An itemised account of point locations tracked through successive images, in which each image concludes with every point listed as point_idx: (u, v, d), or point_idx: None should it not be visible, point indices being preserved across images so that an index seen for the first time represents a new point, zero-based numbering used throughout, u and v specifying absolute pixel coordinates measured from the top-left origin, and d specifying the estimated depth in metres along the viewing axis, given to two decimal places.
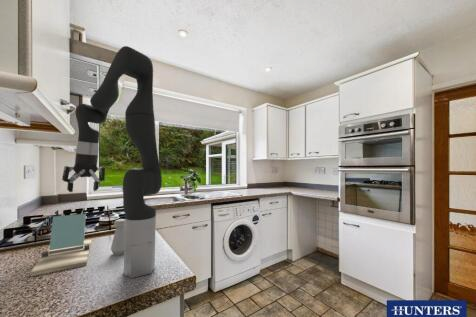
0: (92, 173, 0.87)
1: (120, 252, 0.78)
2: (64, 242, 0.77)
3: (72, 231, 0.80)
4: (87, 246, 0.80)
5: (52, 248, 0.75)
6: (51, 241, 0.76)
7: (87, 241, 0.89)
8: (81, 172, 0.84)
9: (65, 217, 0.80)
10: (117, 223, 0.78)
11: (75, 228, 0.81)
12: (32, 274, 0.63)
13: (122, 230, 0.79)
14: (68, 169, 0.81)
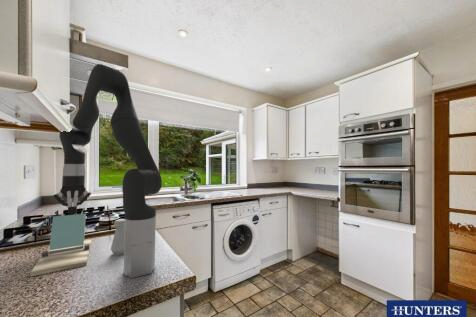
0: (75, 195, 0.87)
1: (120, 252, 0.78)
2: (64, 242, 0.77)
3: (72, 231, 0.80)
4: (87, 246, 0.80)
5: (52, 248, 0.75)
6: (51, 241, 0.76)
7: (87, 241, 0.89)
8: (68, 194, 0.85)
9: (65, 217, 0.80)
10: (117, 223, 0.78)
11: (75, 228, 0.81)
12: (32, 274, 0.63)
13: (122, 230, 0.79)
14: (56, 196, 0.84)
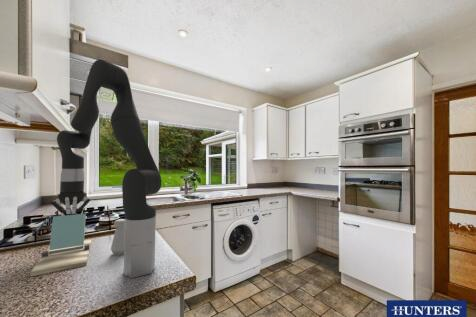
0: (74, 201, 0.82)
1: (120, 252, 0.78)
2: (64, 242, 0.77)
3: (72, 231, 0.80)
4: (87, 246, 0.80)
5: (52, 248, 0.75)
6: (51, 241, 0.76)
7: (87, 241, 0.89)
8: (67, 201, 0.81)
9: (65, 217, 0.80)
10: (117, 223, 0.78)
11: (75, 228, 0.80)
12: (32, 274, 0.63)
13: (122, 230, 0.79)
14: (54, 203, 0.79)
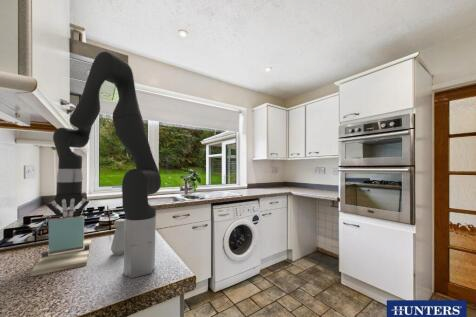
0: (72, 203, 0.77)
1: (120, 252, 0.78)
2: (63, 244, 0.76)
3: (71, 234, 0.77)
4: (87, 246, 0.80)
5: (51, 250, 0.74)
6: (50, 243, 0.74)
7: (87, 241, 0.89)
8: (64, 203, 0.76)
9: (62, 221, 0.75)
10: (117, 223, 0.78)
11: (74, 231, 0.77)
12: (32, 274, 0.63)
13: (122, 230, 0.79)
14: (50, 205, 0.74)
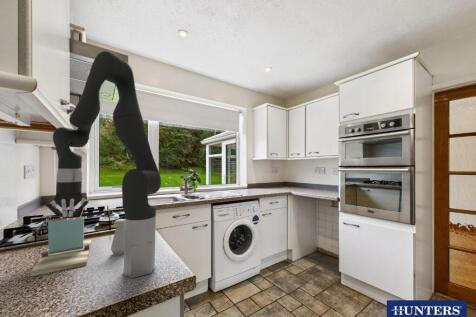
0: (71, 203, 0.77)
1: (120, 252, 0.78)
2: (63, 245, 0.76)
3: (70, 235, 0.76)
4: (87, 246, 0.80)
5: (51, 250, 0.74)
6: (50, 244, 0.74)
7: (87, 241, 0.89)
8: (63, 203, 0.76)
9: (61, 222, 0.74)
10: (117, 223, 0.78)
11: (74, 232, 0.77)
12: (32, 274, 0.63)
13: (122, 230, 0.79)
14: (50, 205, 0.74)
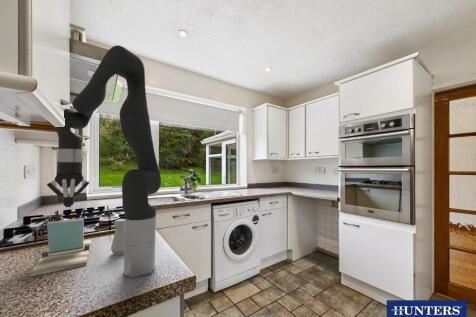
0: (72, 184, 0.77)
1: (120, 252, 0.78)
2: (63, 245, 0.76)
3: (70, 236, 0.76)
4: (87, 246, 0.80)
5: (51, 250, 0.74)
6: (50, 245, 0.73)
7: (87, 241, 0.89)
8: (64, 183, 0.76)
9: (61, 224, 0.73)
10: (117, 223, 0.78)
11: (73, 233, 0.76)
12: (32, 274, 0.63)
13: (122, 230, 0.79)
14: (50, 185, 0.74)
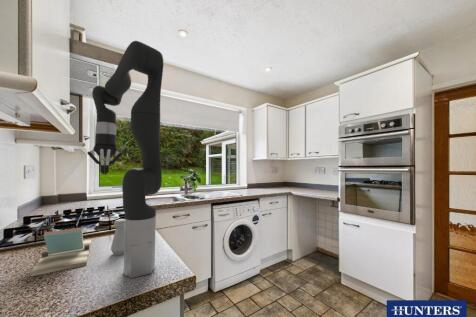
0: (108, 153, 0.87)
1: (120, 252, 0.78)
2: (63, 248, 0.75)
3: (69, 242, 0.74)
4: (87, 246, 0.80)
5: (51, 252, 0.74)
6: (49, 249, 0.72)
7: (87, 241, 0.89)
8: (101, 152, 0.86)
9: (58, 235, 0.70)
10: (117, 223, 0.78)
11: (72, 240, 0.74)
12: (32, 274, 0.63)
13: (122, 230, 0.79)
14: (90, 153, 0.84)
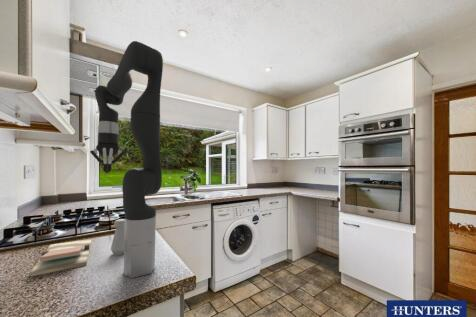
0: (110, 152, 0.88)
1: (120, 252, 0.78)
2: None
3: None
4: (87, 246, 0.80)
5: None
6: None
7: (87, 241, 0.89)
8: (104, 151, 0.87)
9: (55, 258, 0.67)
10: (117, 223, 0.78)
11: None
12: (32, 274, 0.63)
13: (122, 230, 0.79)
14: (93, 152, 0.85)
